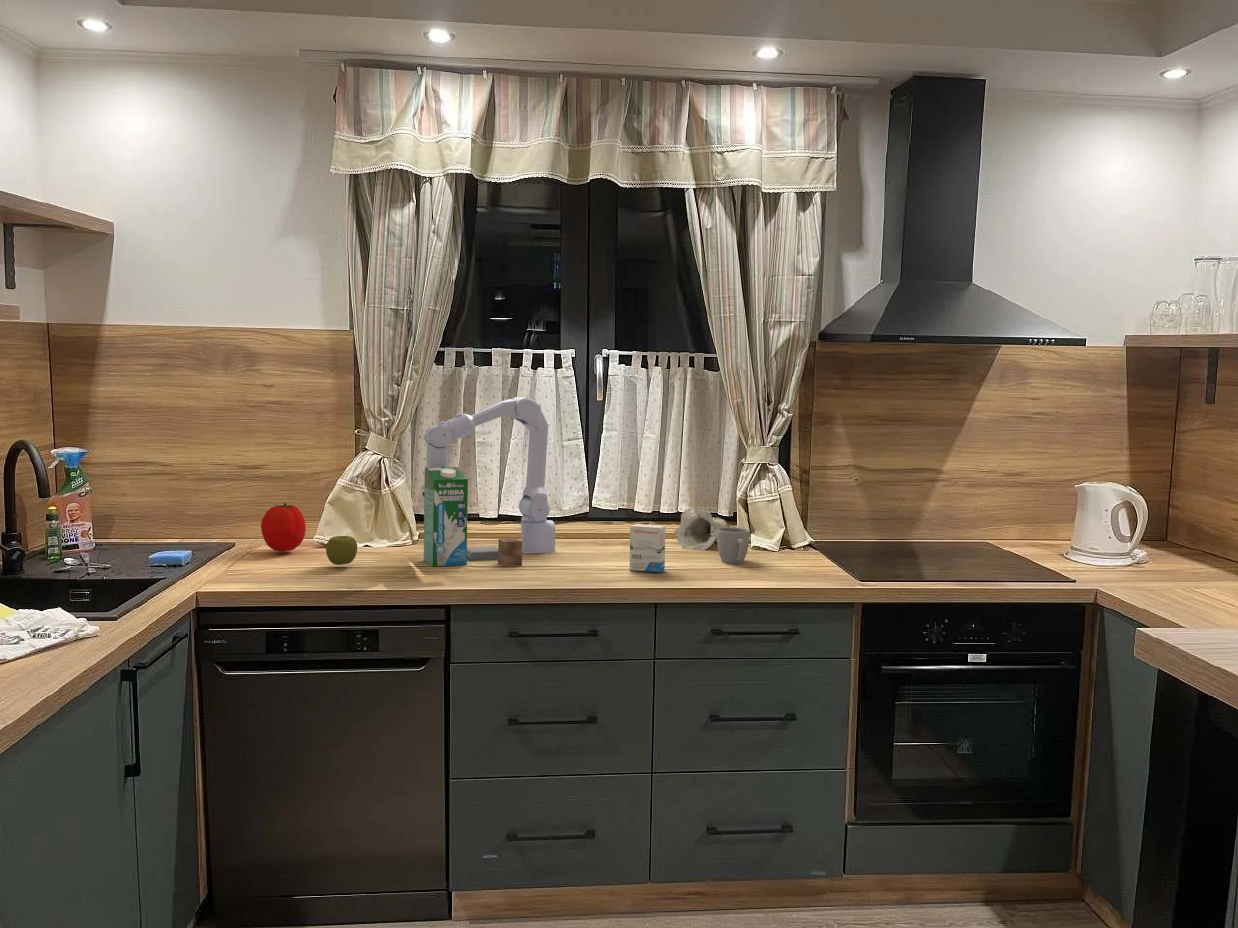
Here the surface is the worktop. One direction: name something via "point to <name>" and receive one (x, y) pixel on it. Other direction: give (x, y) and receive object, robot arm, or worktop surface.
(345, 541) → the apple
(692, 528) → the wavy rim vase
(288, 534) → the tomato
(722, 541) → the mug
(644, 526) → the ink box
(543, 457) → the robot arm
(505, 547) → the walnut block
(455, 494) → the milk carton
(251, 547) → the worktop surface
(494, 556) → the coaster block
